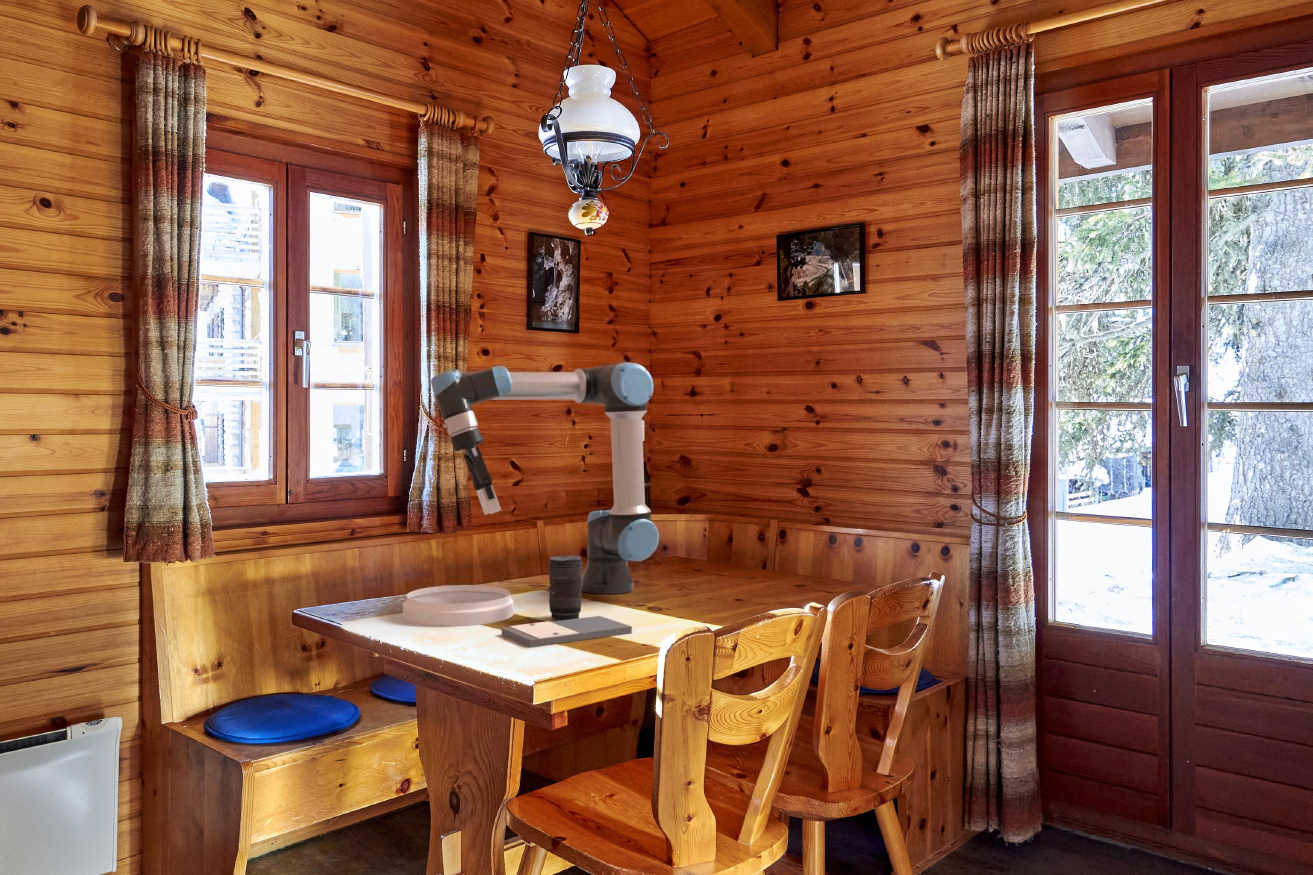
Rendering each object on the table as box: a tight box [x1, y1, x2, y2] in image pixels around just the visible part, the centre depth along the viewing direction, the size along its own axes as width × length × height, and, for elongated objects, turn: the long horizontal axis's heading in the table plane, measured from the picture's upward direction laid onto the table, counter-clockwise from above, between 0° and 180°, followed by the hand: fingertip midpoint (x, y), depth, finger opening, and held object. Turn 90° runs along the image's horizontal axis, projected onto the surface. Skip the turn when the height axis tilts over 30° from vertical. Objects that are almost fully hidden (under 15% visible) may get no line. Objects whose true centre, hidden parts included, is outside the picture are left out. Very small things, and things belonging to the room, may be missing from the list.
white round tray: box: [402, 584, 515, 627], centre depth 232 cm, size 27×27×6 cm
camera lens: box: [548, 555, 583, 621], centre depth 229 cm, size 8×8×15 cm
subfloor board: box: [501, 615, 633, 648], centre depth 212 cm, size 26×14×2 cm, turn 125°
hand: (492, 512), depth 231 cm, fingers open, 13 cm apart
